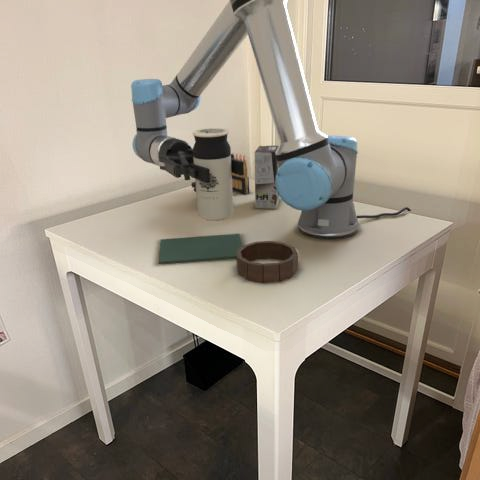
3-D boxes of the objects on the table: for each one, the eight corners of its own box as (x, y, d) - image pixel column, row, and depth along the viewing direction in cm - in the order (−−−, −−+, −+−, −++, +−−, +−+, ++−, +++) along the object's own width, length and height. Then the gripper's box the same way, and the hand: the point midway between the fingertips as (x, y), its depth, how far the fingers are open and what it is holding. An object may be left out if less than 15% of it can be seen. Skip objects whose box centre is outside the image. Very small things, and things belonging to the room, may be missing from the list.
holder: (290, 255, 112) (290, 239, 110) (302, 279, 101) (302, 262, 99) (234, 259, 111) (234, 243, 109) (240, 284, 100) (239, 267, 98)
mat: (239, 235, 123) (239, 233, 123) (245, 257, 112) (245, 255, 111) (161, 241, 122) (160, 239, 122) (158, 264, 110) (158, 261, 110)
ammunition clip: (224, 188, 161) (221, 151, 155) (228, 187, 162) (226, 150, 156) (245, 194, 154) (244, 155, 148) (249, 193, 155) (248, 154, 149)
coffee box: (276, 209, 140) (276, 152, 132) (254, 208, 141) (253, 151, 133) (280, 199, 148) (280, 144, 139) (259, 199, 149) (259, 144, 141)
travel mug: (210, 207, 113) (205, 126, 104) (239, 212, 110) (236, 129, 100) (191, 218, 108) (183, 133, 98) (221, 223, 104) (216, 136, 95)
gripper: (209, 163, 123) (264, 181, 107) (135, 177, 113) (184, 200, 97) (207, 131, 119) (264, 146, 103) (130, 144, 109) (180, 162, 93)
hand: (225, 172), depth 100 cm, fingers closed on travel mug, 8 cm apart
